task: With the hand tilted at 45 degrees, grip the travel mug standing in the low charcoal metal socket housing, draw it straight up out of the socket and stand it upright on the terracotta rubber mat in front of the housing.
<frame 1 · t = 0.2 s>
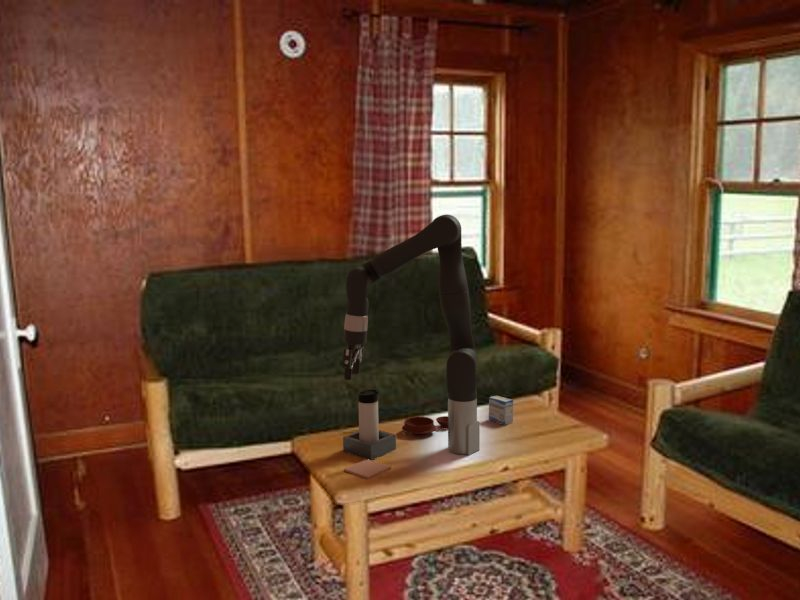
hand: (351, 376, 235), 23 cm above the table, tool pointing down, fingers open, 8 cm apart
pottery: (429, 431, 250), on the table
medicine box: (500, 422, 258), on the table
rubber mat: (367, 469, 216), on the table
travel mug: (369, 451, 232), resting in socket housing
socket housing: (369, 450, 232), on the table
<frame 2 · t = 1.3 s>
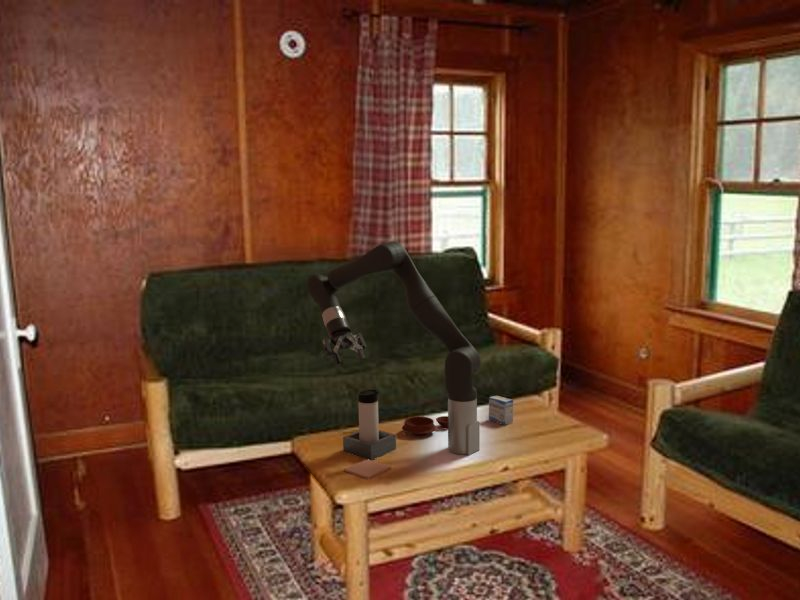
hand: (351, 362, 237), 27 cm above the table, tool tilted 45°, fingers open, 8 cm apart
nothing on the table moved.
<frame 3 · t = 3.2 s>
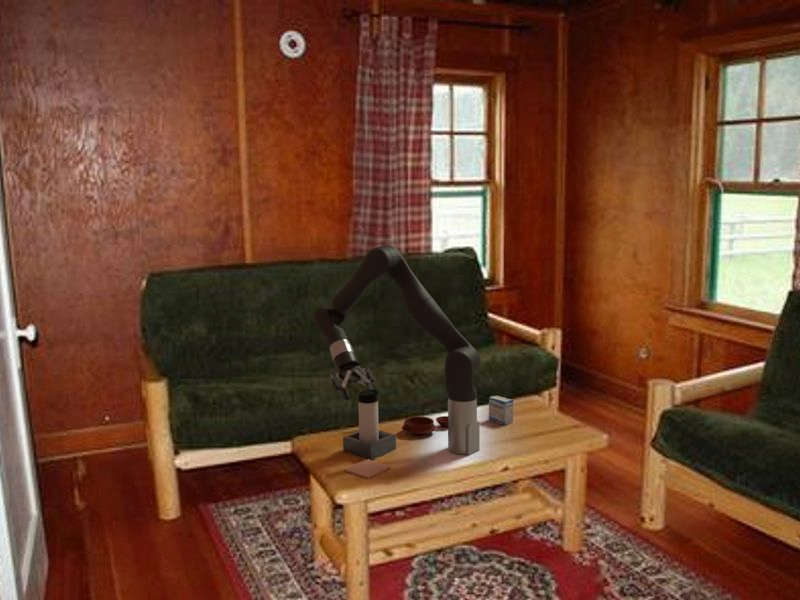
hand: (360, 397, 234), 16 cm above the table, tool tilted 45°, fingers open, 8 cm apart
nothing on the table moved.
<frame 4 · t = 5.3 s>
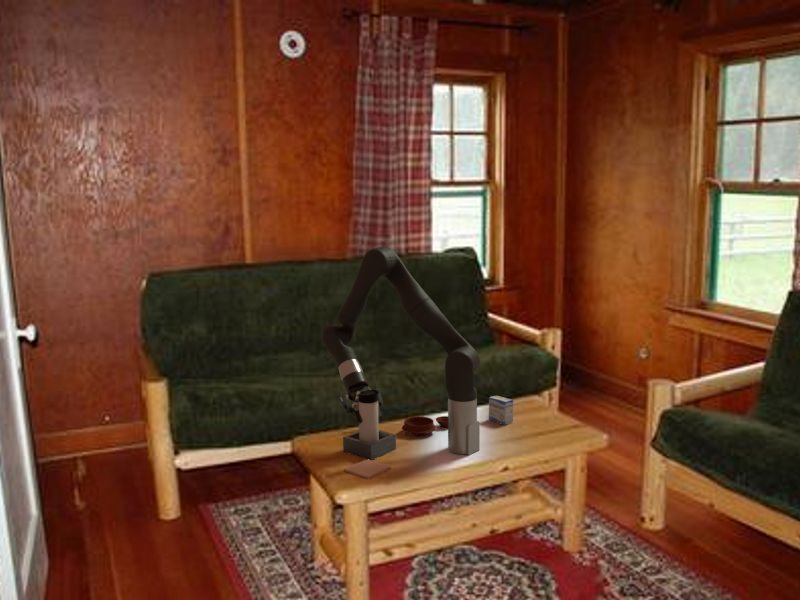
hand: (370, 420, 229), 10 cm above the table, tool tilted 45°, fingers closed on travel mug, 6 cm apart
travel mug: (369, 451, 232), resting in socket housing, touching gripper
everything else where it was.
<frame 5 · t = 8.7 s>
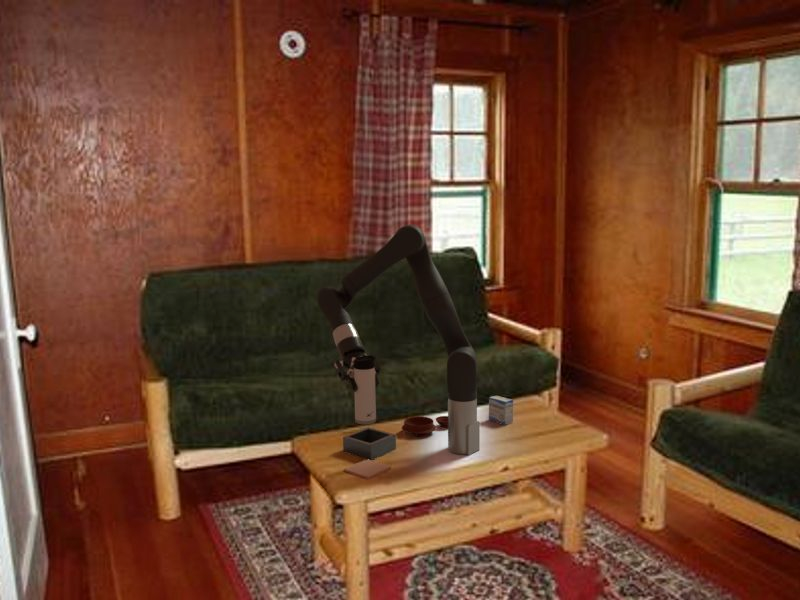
hand: (366, 388, 213), 25 cm above the table, tool tilted 45°, fingers closed on travel mug, 6 cm apart
travel mug: (366, 421, 215), point 15 cm above the table, touching gripper
everything else where it was.
when the fingers open (12 cm above the table, at t = 11.9 s): travel mug drops 1 cm, resting on rubber mat.
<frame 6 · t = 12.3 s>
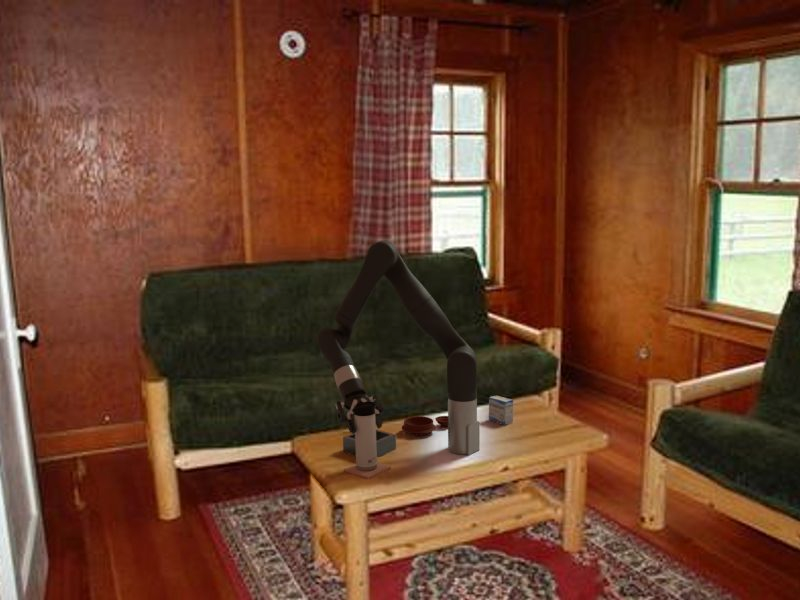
hand: (367, 429, 214), 13 cm above the table, tool tilted 45°, fingers open, 8 cm apart
travel mug: (367, 467, 216), point 1 cm above the table, touching rubber mat
everything else where it was.
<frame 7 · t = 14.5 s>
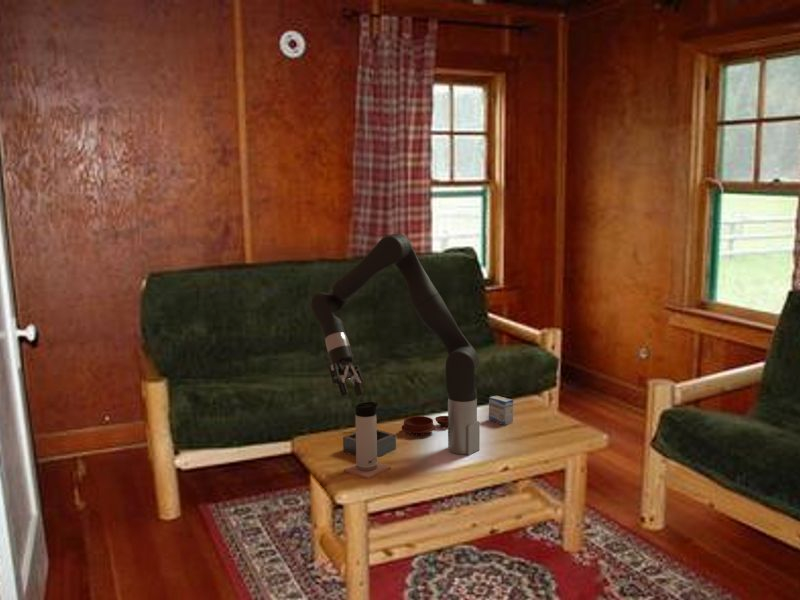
hand: (352, 395, 231), 18 cm above the table, tool tilted 30°, fingers open, 8 cm apart
nothing on the table moved.
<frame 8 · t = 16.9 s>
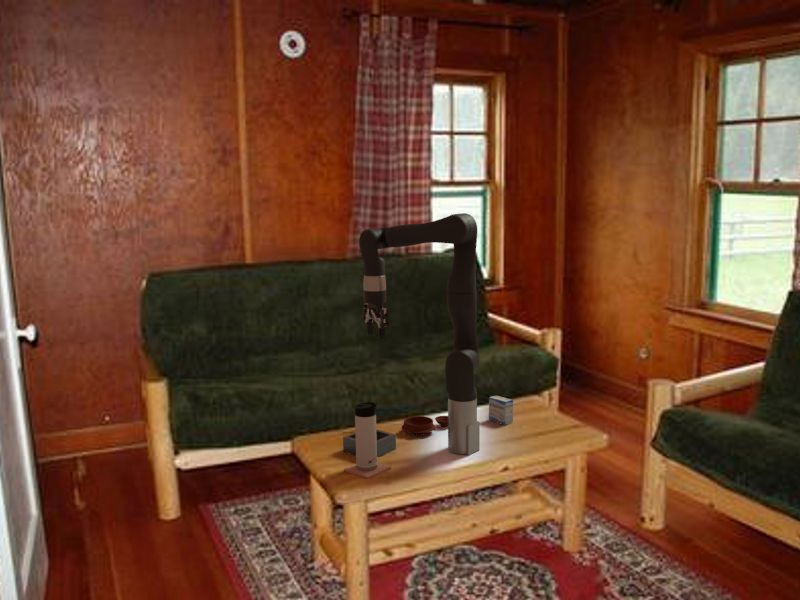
hand: (375, 336, 243), 34 cm above the table, tool pointing down, fingers open, 8 cm apart
nothing on the table moved.
at the end: travel mug inside the target area on the rubber mat (0.3 cm from its centre), point 0.4 cm above the rubber mat's base; travel mug tilted 0°; the gripper is holding nothing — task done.
